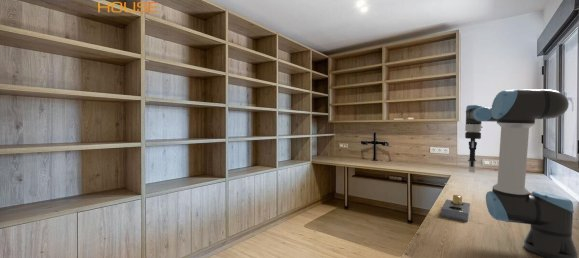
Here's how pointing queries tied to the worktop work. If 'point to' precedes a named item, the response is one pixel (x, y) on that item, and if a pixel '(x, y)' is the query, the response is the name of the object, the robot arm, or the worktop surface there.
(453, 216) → the block
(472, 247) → the worktop surface
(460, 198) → the brass sleeve
